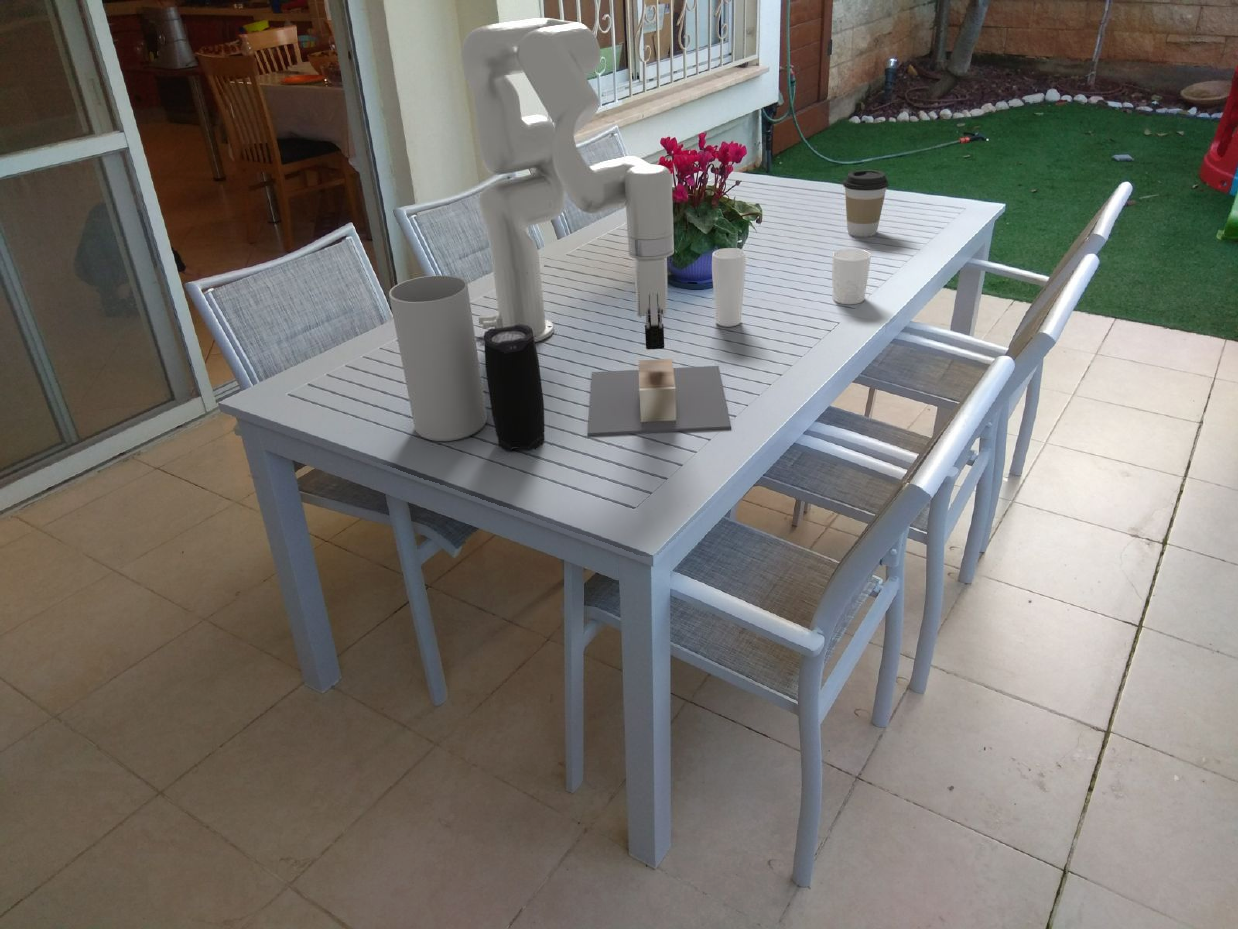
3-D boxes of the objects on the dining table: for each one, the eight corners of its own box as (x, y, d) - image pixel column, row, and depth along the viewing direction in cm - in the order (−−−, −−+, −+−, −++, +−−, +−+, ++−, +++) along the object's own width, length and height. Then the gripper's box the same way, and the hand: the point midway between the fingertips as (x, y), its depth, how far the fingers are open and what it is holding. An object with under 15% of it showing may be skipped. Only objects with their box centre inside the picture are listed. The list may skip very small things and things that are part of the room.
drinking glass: (743, 329, 191) (744, 258, 183) (710, 328, 192) (710, 258, 185) (746, 317, 197) (747, 247, 189) (714, 316, 198) (713, 247, 190)
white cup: (829, 305, 200) (831, 259, 195) (830, 292, 206) (833, 248, 201) (866, 306, 198) (870, 260, 193) (867, 293, 205) (871, 248, 200)
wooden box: (639, 390, 168) (641, 422, 158) (638, 360, 165) (639, 390, 155) (673, 389, 168) (676, 420, 158) (672, 358, 165) (675, 388, 155)
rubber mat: (587, 435, 156) (587, 433, 156) (591, 374, 177) (591, 372, 176) (731, 428, 155) (731, 426, 155) (718, 368, 176) (718, 365, 176)
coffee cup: (858, 223, 248) (862, 166, 241) (893, 232, 241) (899, 172, 233) (830, 233, 242) (834, 175, 235) (866, 242, 235) (871, 182, 227)
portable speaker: (542, 425, 160) (530, 318, 150) (551, 451, 152) (540, 340, 142) (492, 433, 159) (477, 325, 149) (499, 459, 151) (484, 348, 141)
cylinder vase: (502, 421, 162) (483, 284, 149) (446, 450, 154) (421, 308, 142) (456, 402, 170) (434, 270, 157) (400, 429, 162) (373, 292, 149)
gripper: (627, 232, 159) (633, 331, 169) (628, 260, 146) (634, 366, 156) (671, 229, 159) (674, 329, 168) (676, 257, 146) (678, 364, 155)
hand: (655, 347), depth 162 cm, fingers closed
